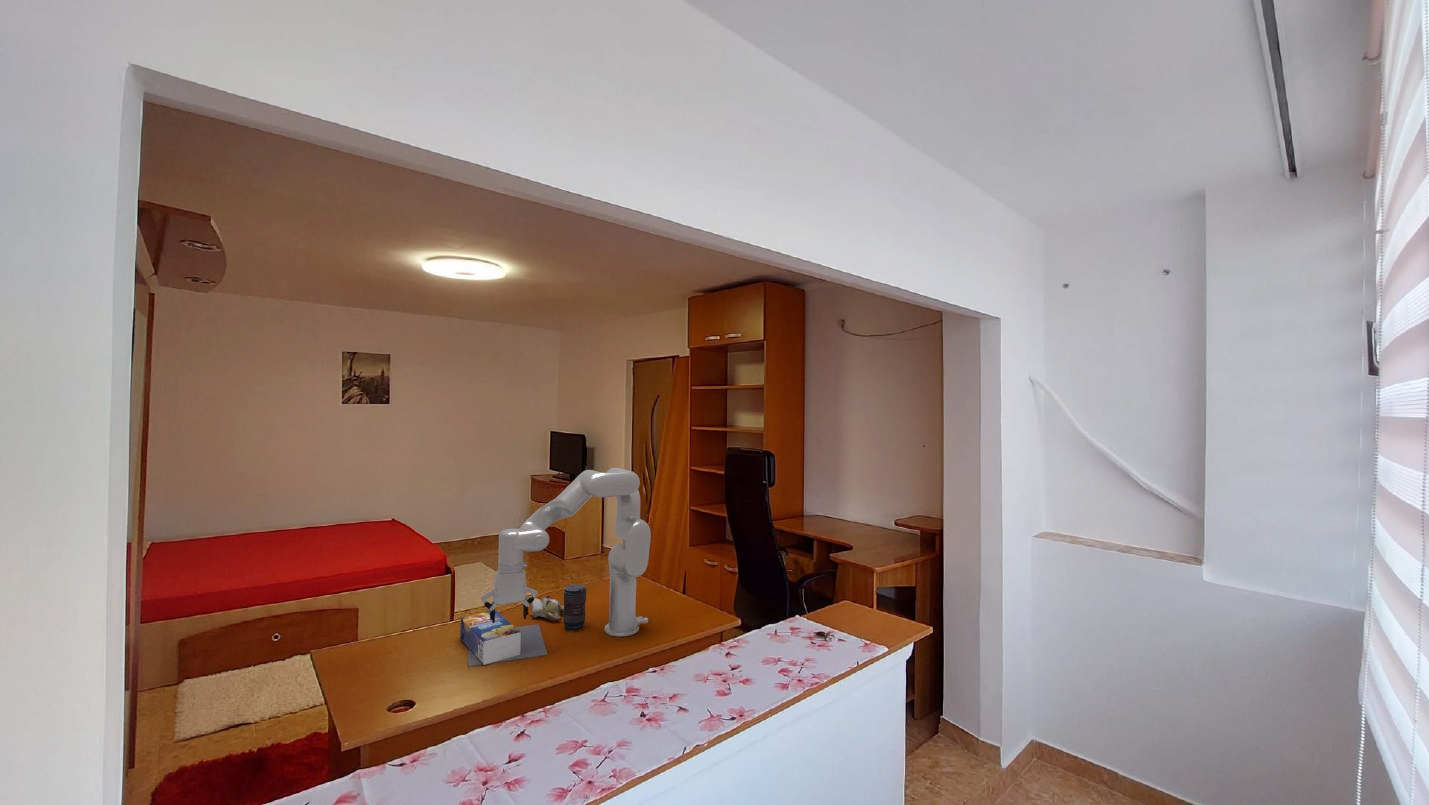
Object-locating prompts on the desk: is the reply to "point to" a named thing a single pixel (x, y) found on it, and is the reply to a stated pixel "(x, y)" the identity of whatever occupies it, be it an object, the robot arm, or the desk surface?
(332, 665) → the desk surface
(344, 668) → the desk surface
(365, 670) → the desk surface
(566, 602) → the camera lens
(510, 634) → the juice carton
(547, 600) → the ceramic sculpture
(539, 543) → the robot arm
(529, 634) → the mat
